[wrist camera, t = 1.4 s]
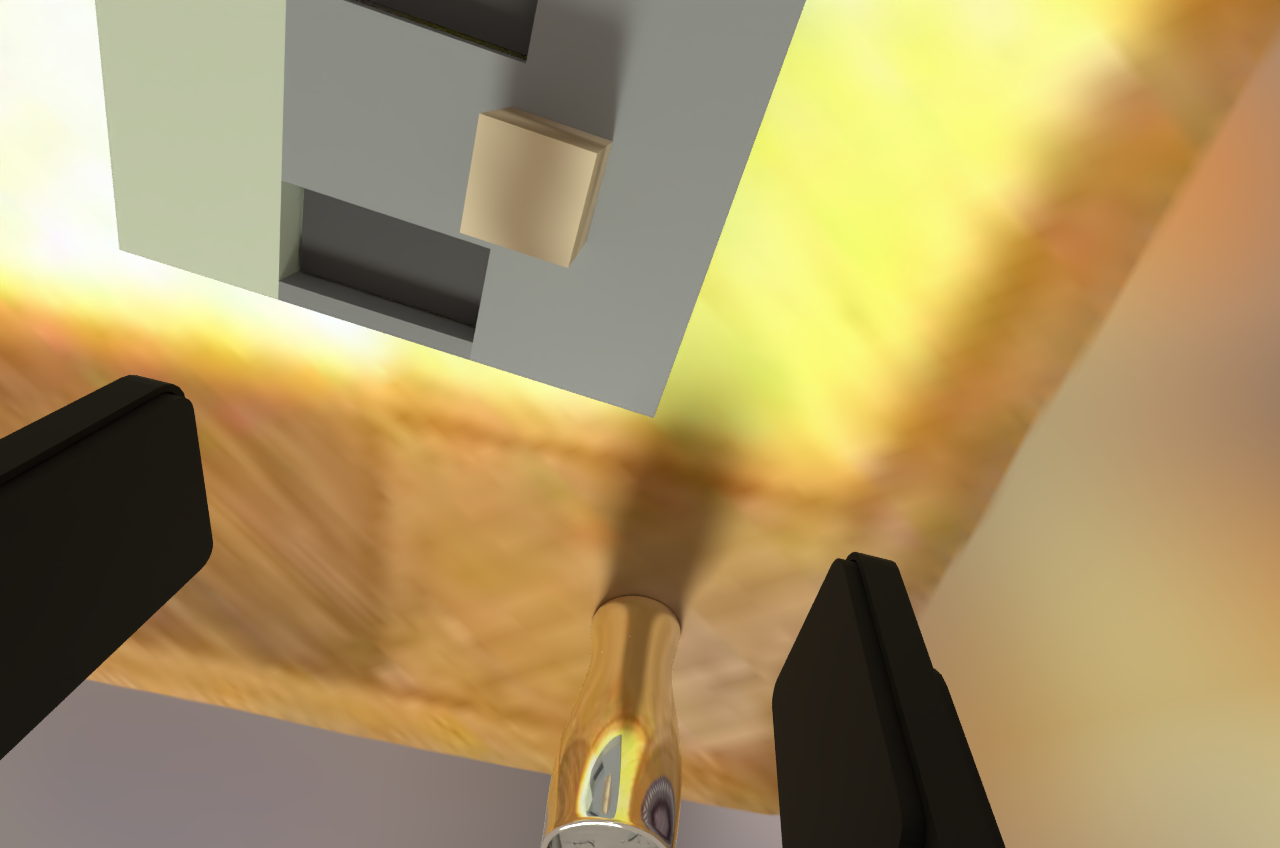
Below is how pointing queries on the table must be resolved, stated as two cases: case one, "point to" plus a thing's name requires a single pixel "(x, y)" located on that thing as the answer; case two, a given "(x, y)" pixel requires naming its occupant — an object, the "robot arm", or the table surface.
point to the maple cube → (533, 184)
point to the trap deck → (441, 163)
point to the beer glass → (621, 737)
